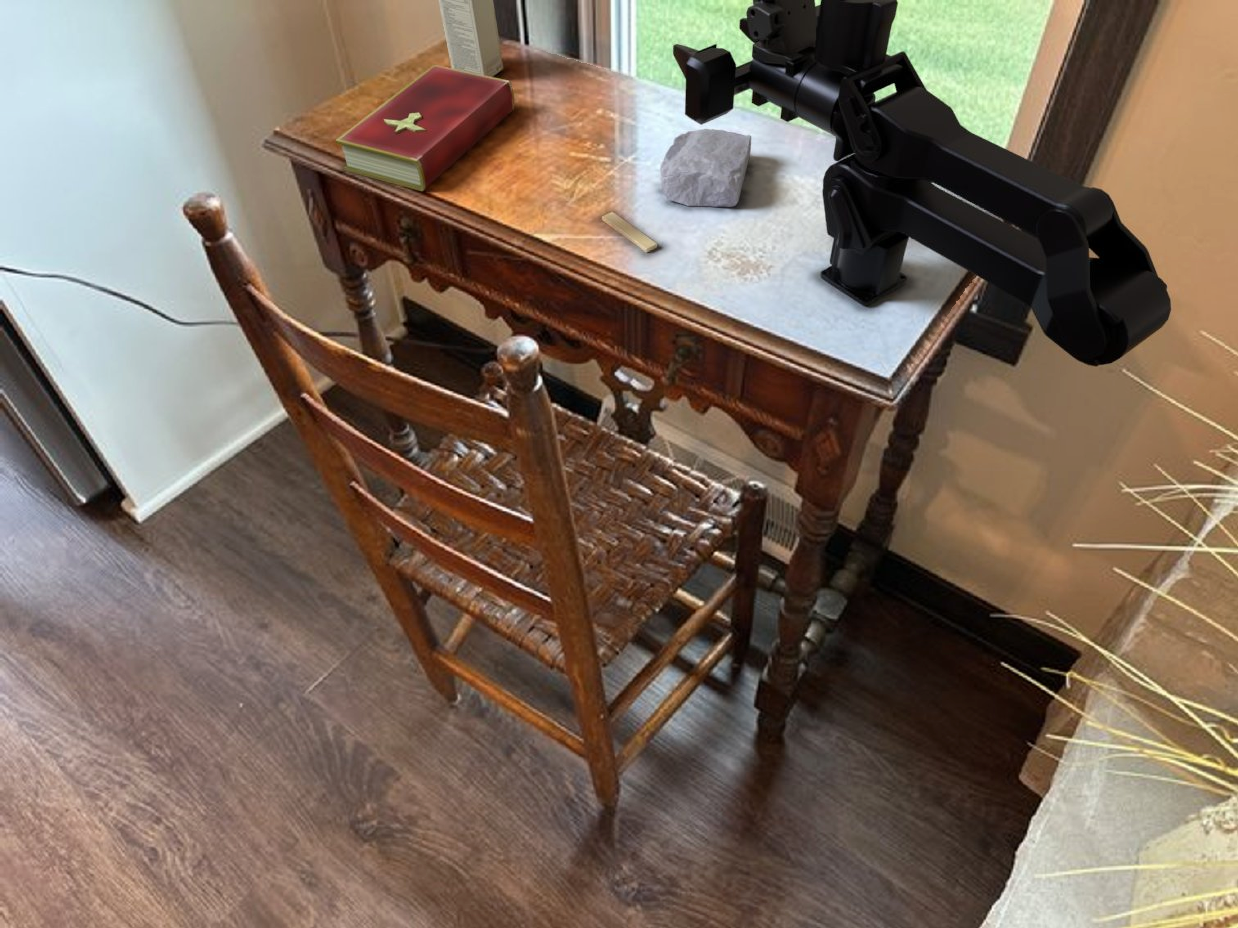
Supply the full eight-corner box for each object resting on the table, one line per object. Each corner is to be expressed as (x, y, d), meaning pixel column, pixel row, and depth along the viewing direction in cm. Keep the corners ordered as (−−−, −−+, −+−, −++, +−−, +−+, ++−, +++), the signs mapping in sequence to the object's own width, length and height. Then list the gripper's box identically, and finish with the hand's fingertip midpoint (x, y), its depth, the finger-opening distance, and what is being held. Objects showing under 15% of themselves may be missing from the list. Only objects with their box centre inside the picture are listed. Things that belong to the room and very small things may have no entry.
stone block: (659, 216, 106) (744, 209, 103) (651, 179, 102) (739, 170, 99) (676, 165, 114) (756, 157, 111) (669, 129, 110) (751, 119, 107)
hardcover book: (515, 110, 120) (512, 79, 116) (425, 192, 107) (418, 159, 104) (439, 93, 123) (433, 62, 120) (343, 170, 111) (334, 138, 108)
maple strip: (657, 247, 99) (657, 243, 99) (646, 252, 98) (646, 249, 98) (612, 215, 103) (612, 211, 103) (602, 220, 103) (601, 216, 102)
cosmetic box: (504, 70, 127) (492, -23, 118) (484, 83, 125) (471, -10, 116) (469, 60, 130) (455, -32, 120) (449, 72, 127) (433, -20, 118)
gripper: (898, -27, 85) (780, -71, 93) (750, 32, 77) (636, -22, 86) (877, 90, 93) (770, 39, 101) (741, 153, 86) (638, 92, 94)
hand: (708, 36), depth 95 cm, fingers open, 9 cm apart
